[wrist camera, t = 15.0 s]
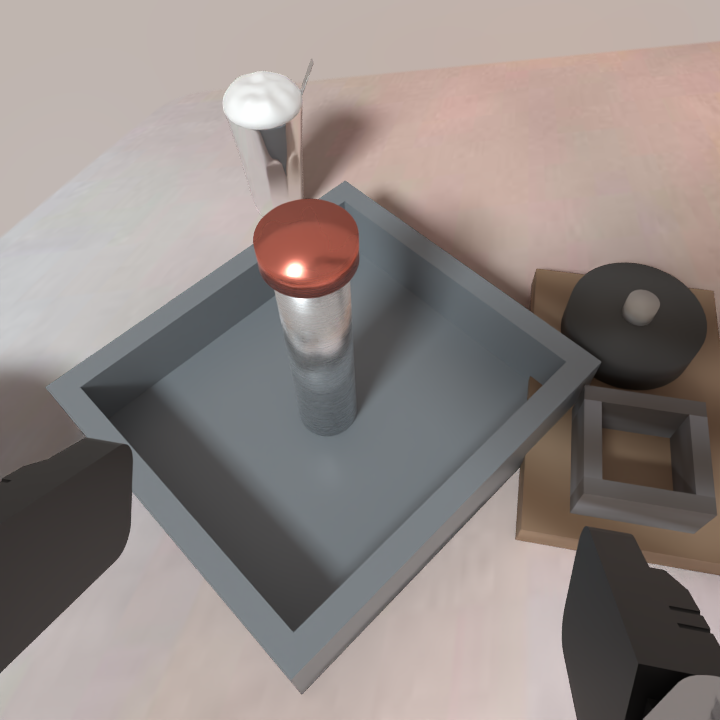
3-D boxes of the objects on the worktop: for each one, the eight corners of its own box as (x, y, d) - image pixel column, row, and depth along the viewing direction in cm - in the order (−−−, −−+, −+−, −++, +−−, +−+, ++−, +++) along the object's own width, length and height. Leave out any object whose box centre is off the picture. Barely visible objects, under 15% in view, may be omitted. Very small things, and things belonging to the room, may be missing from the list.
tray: (347, 233, 43) (345, 180, 39) (577, 406, 36) (601, 361, 32) (80, 429, 36) (45, 387, 32) (301, 694, 29) (290, 680, 25)
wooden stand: (531, 284, 41) (547, 233, 37) (702, 306, 39) (737, 255, 36) (515, 539, 32) (533, 506, 28) (732, 577, 31) (781, 548, 27)
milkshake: (331, 219, 44) (320, 85, 36) (251, 234, 43) (220, 101, 35) (318, 173, 46) (305, 37, 38) (241, 187, 46) (211, 52, 37)
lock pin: (330, 367, 37) (309, 184, 25) (379, 410, 35) (380, 235, 24) (277, 410, 35) (231, 236, 24) (326, 457, 34) (301, 295, 23)
